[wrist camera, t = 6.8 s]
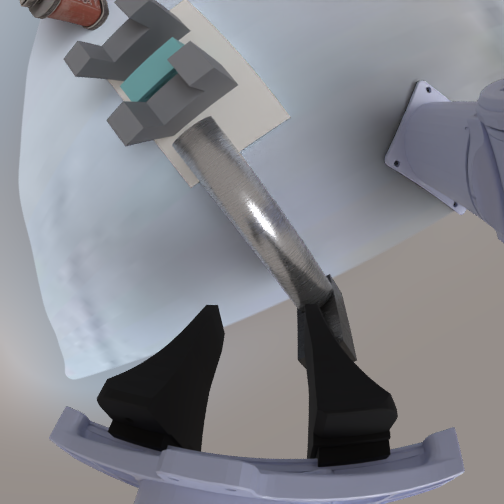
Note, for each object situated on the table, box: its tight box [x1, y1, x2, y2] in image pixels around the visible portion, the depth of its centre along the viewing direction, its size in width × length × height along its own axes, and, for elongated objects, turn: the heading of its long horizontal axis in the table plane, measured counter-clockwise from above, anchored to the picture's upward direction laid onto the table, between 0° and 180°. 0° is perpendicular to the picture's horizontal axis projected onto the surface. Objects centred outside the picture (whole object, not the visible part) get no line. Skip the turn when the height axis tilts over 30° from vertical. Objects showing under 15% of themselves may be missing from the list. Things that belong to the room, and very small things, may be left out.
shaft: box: [172, 116, 357, 368], centre depth 13 cm, size 14×2×6 cm, turn 36°
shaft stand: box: [64, 0, 291, 188], centre depth 14 cm, size 13×9×8 cm
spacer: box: [120, 37, 184, 102], centre depth 14 cm, size 2×4×4 cm, turn 126°
